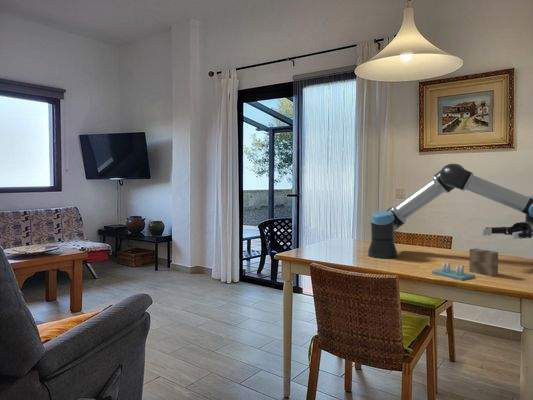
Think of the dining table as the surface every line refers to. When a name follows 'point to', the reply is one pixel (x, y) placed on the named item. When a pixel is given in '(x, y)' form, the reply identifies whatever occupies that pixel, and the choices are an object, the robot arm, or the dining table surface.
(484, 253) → the brown boxy piece
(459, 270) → the peg stand
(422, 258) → the dining table surface
